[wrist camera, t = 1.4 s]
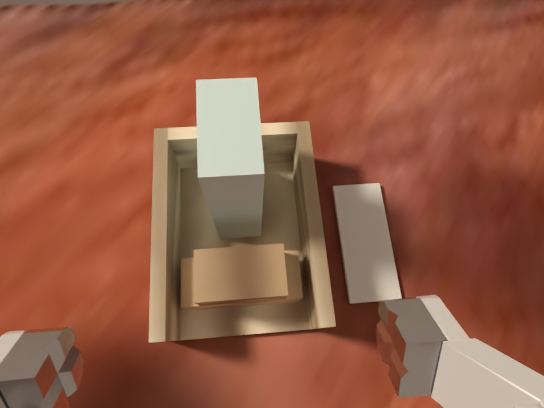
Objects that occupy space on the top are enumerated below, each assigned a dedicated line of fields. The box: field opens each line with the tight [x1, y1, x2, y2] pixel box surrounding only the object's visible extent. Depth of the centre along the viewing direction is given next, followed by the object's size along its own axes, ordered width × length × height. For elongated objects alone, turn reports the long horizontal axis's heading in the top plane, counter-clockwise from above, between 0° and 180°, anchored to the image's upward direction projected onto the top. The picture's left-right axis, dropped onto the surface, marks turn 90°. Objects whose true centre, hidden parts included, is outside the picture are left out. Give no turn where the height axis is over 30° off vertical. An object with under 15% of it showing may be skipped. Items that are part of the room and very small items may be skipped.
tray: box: [149, 121, 336, 343], centre depth 34 cm, size 14×18×7 cm
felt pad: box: [332, 183, 402, 304], centre depth 38 cm, size 5×12×1 cm, turn 5°
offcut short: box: [194, 243, 288, 306], centre depth 30 cm, size 7×4×3 cm, turn 95°
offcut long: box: [181, 250, 303, 311], centre depth 33 cm, size 10×4×4 cm, turn 95°
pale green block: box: [196, 78, 265, 239], centre depth 31 cm, size 4×7×15 cm, turn 5°
